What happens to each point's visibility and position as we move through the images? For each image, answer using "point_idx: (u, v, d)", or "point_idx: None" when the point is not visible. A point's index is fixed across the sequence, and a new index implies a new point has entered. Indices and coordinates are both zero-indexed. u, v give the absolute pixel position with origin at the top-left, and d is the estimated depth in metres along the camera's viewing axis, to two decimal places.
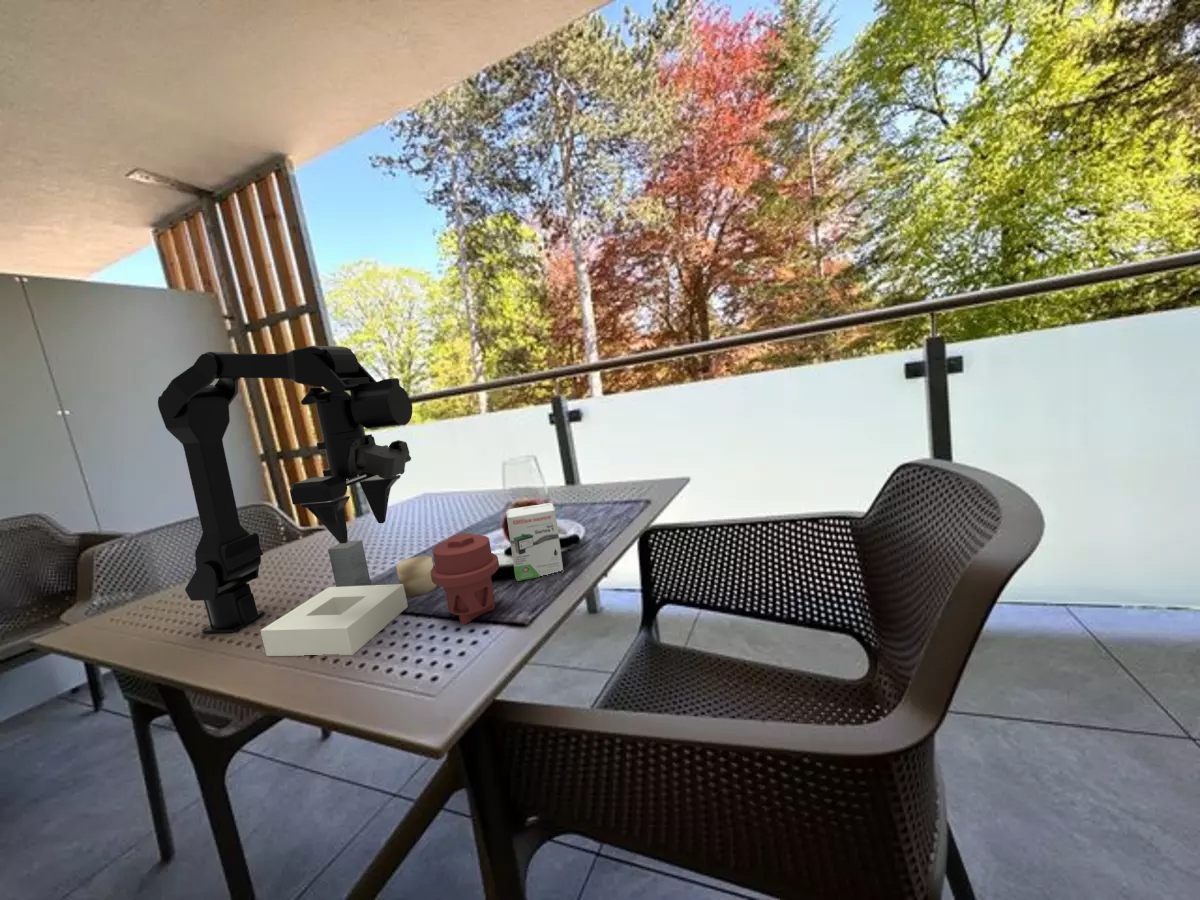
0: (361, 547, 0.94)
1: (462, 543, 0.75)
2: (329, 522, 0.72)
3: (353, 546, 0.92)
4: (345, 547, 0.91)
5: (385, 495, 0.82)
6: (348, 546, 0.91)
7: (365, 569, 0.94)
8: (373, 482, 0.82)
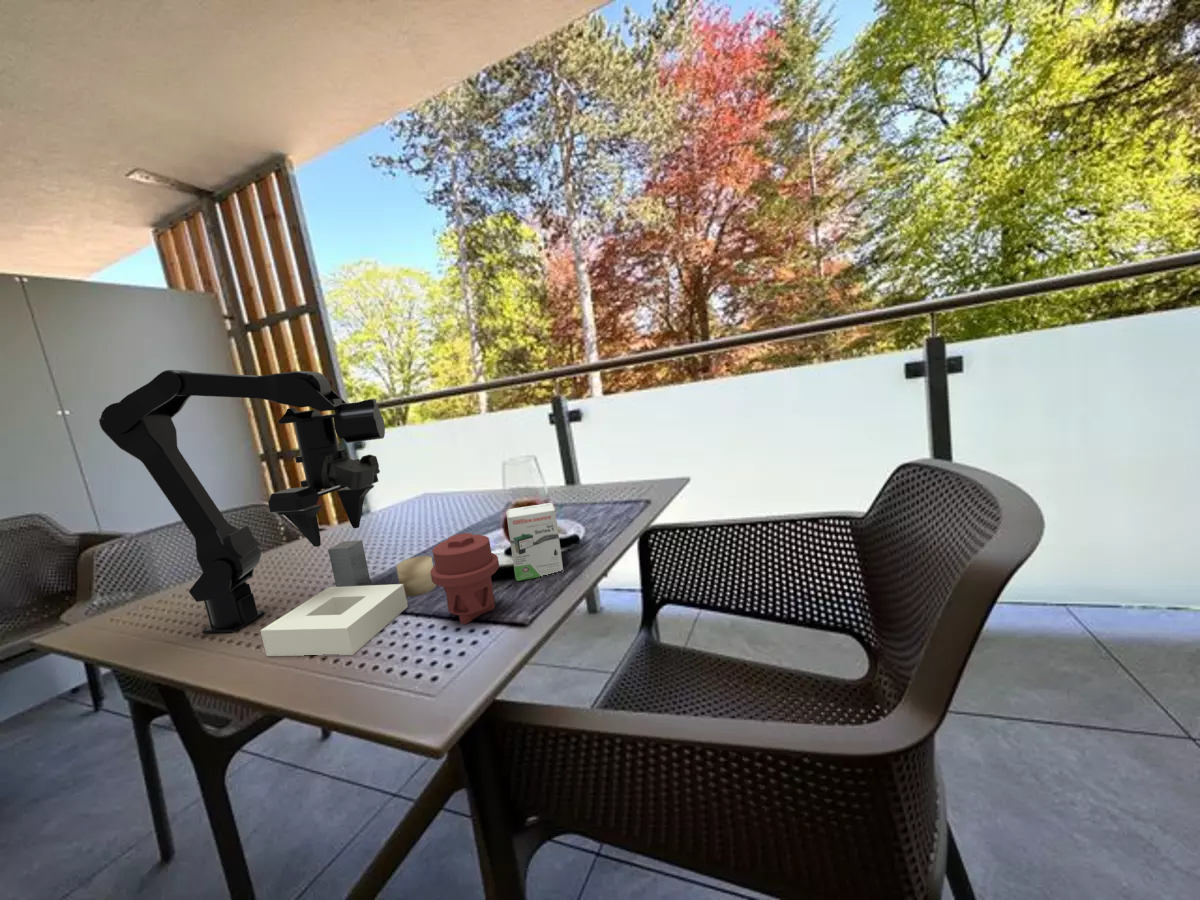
0: (361, 547, 0.94)
1: (462, 543, 0.75)
2: (304, 528, 0.81)
3: (353, 546, 0.92)
4: (345, 547, 0.91)
5: (359, 503, 0.91)
6: (348, 546, 0.91)
7: (365, 569, 0.94)
8: (349, 491, 0.91)
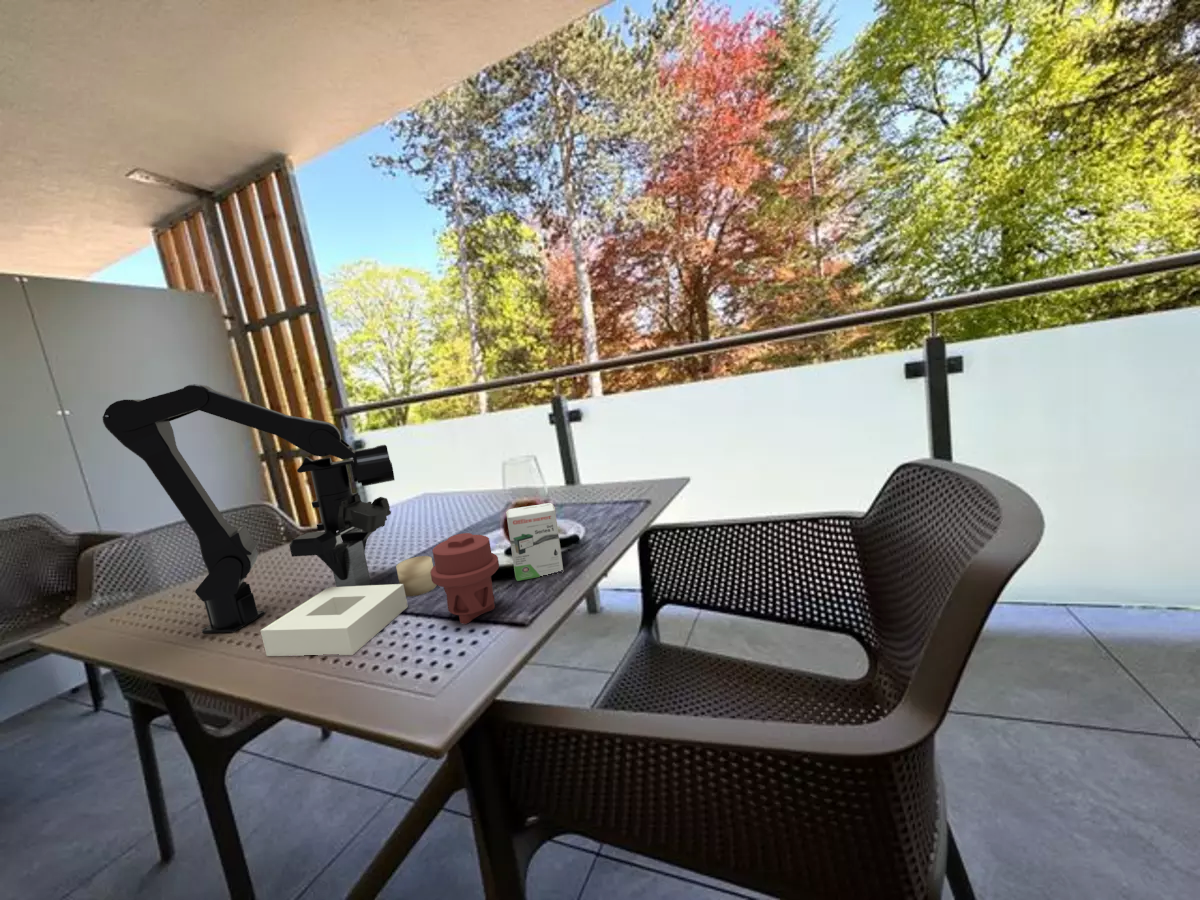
0: (361, 547, 0.94)
1: (462, 543, 0.75)
2: (332, 563, 0.90)
3: (353, 546, 0.92)
4: None
5: None
6: (348, 546, 0.91)
7: (365, 569, 0.94)
8: (351, 535, 0.95)
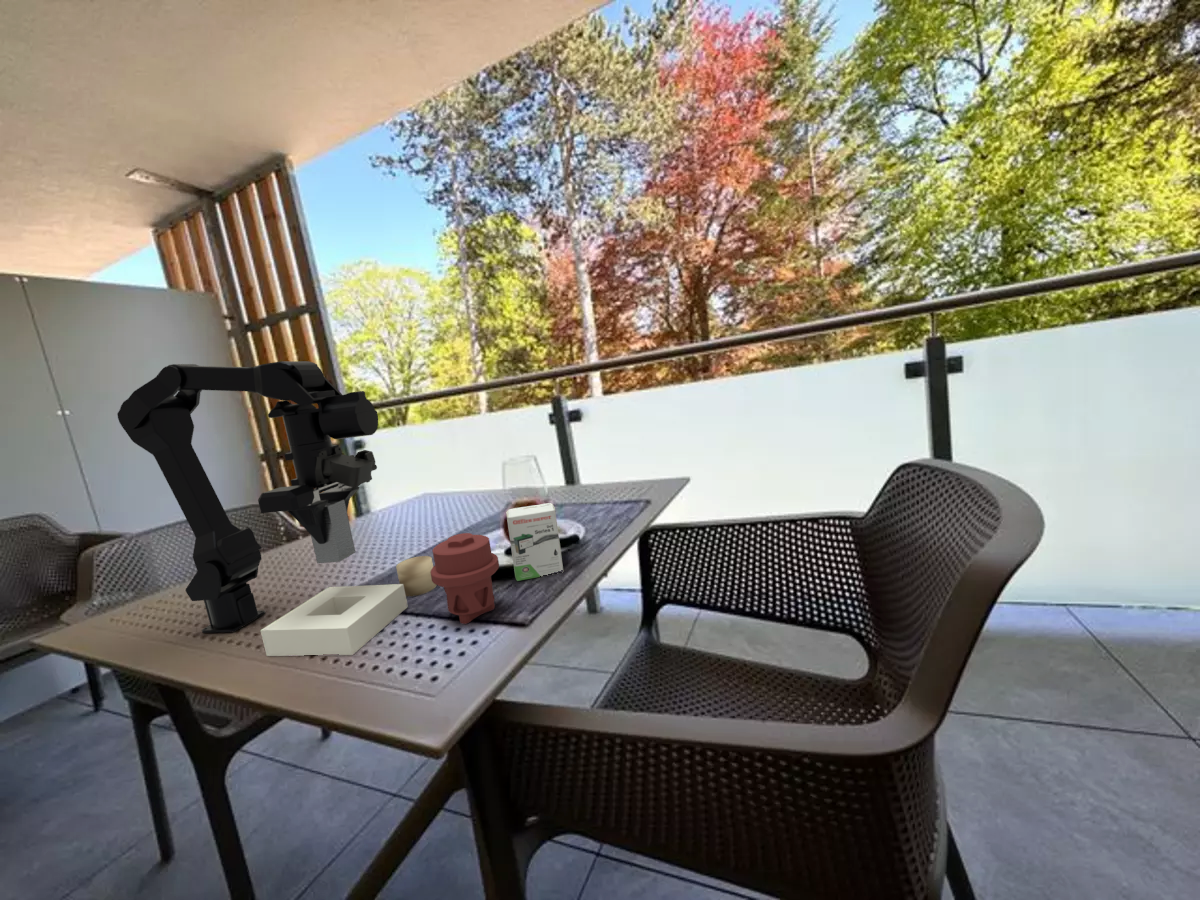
0: (343, 507, 0.82)
1: (462, 543, 0.75)
2: (309, 524, 0.78)
3: (334, 505, 0.80)
4: (325, 506, 0.79)
5: None
6: (328, 505, 0.79)
7: (348, 532, 0.83)
8: (331, 494, 0.83)
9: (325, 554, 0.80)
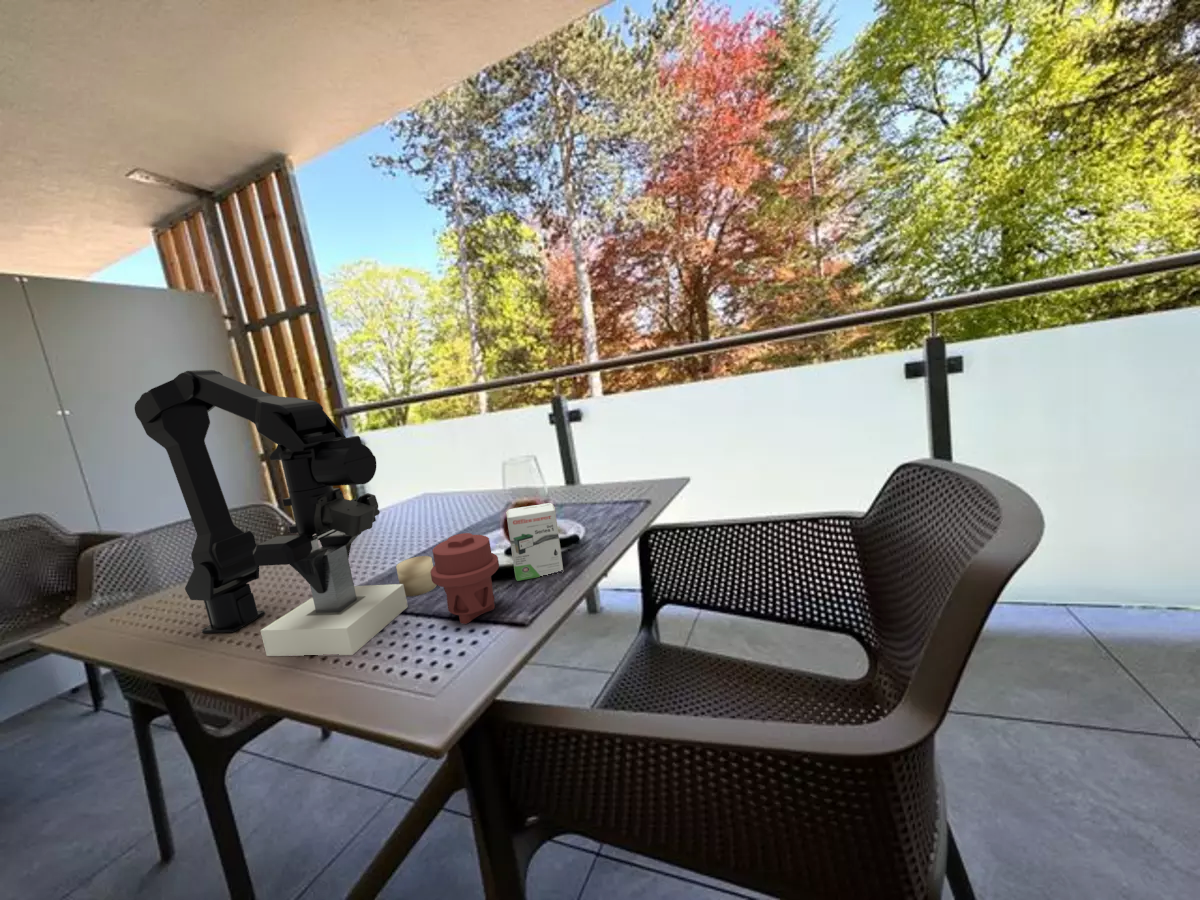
0: (344, 553, 0.78)
1: (462, 543, 0.75)
2: (307, 573, 0.74)
3: (334, 552, 0.76)
4: None
5: None
6: (328, 552, 0.75)
7: (349, 580, 0.78)
8: (332, 538, 0.79)
9: (324, 604, 0.76)
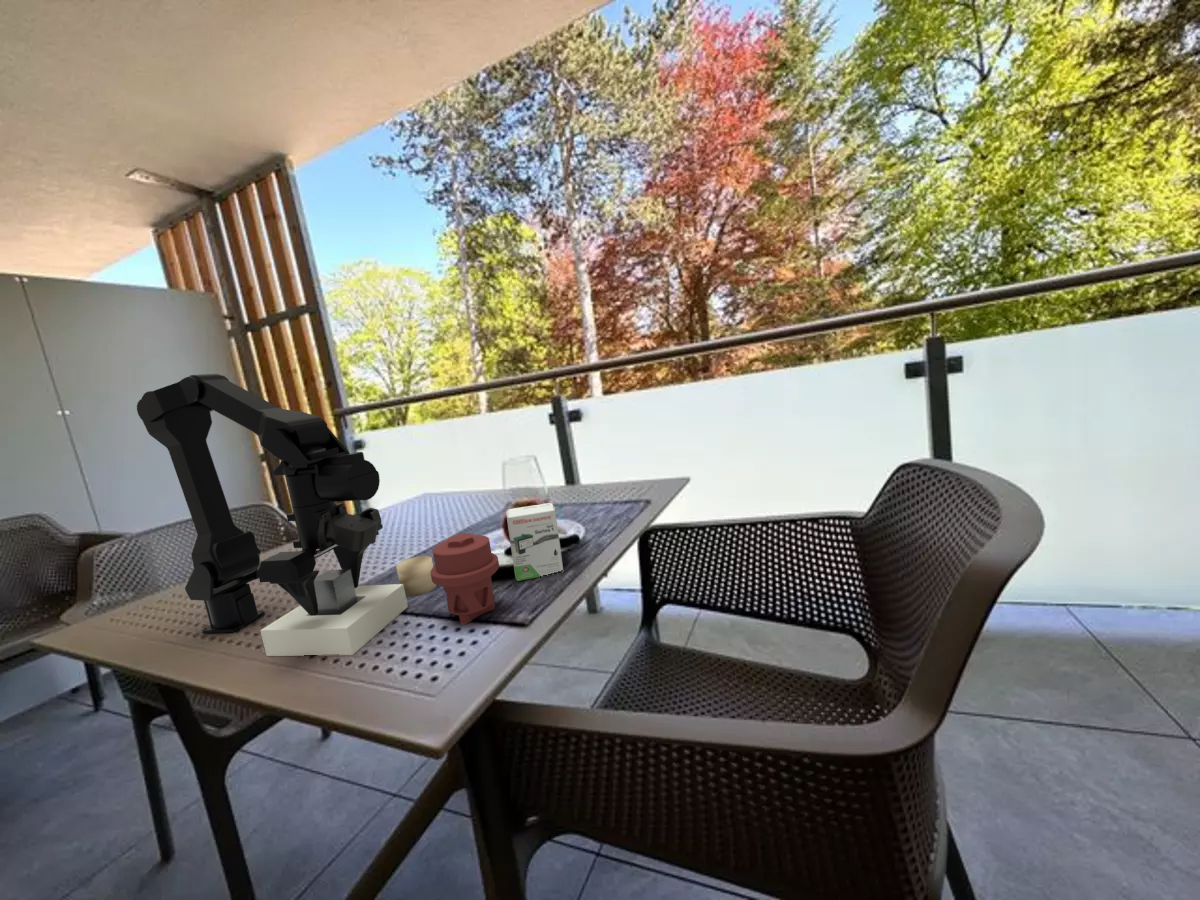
0: (349, 578, 0.78)
1: (462, 543, 0.75)
2: (299, 596, 0.72)
3: (339, 577, 0.76)
4: (330, 579, 0.75)
5: (358, 560, 0.82)
6: (333, 577, 0.76)
7: (354, 603, 0.79)
8: (346, 547, 0.82)
9: None
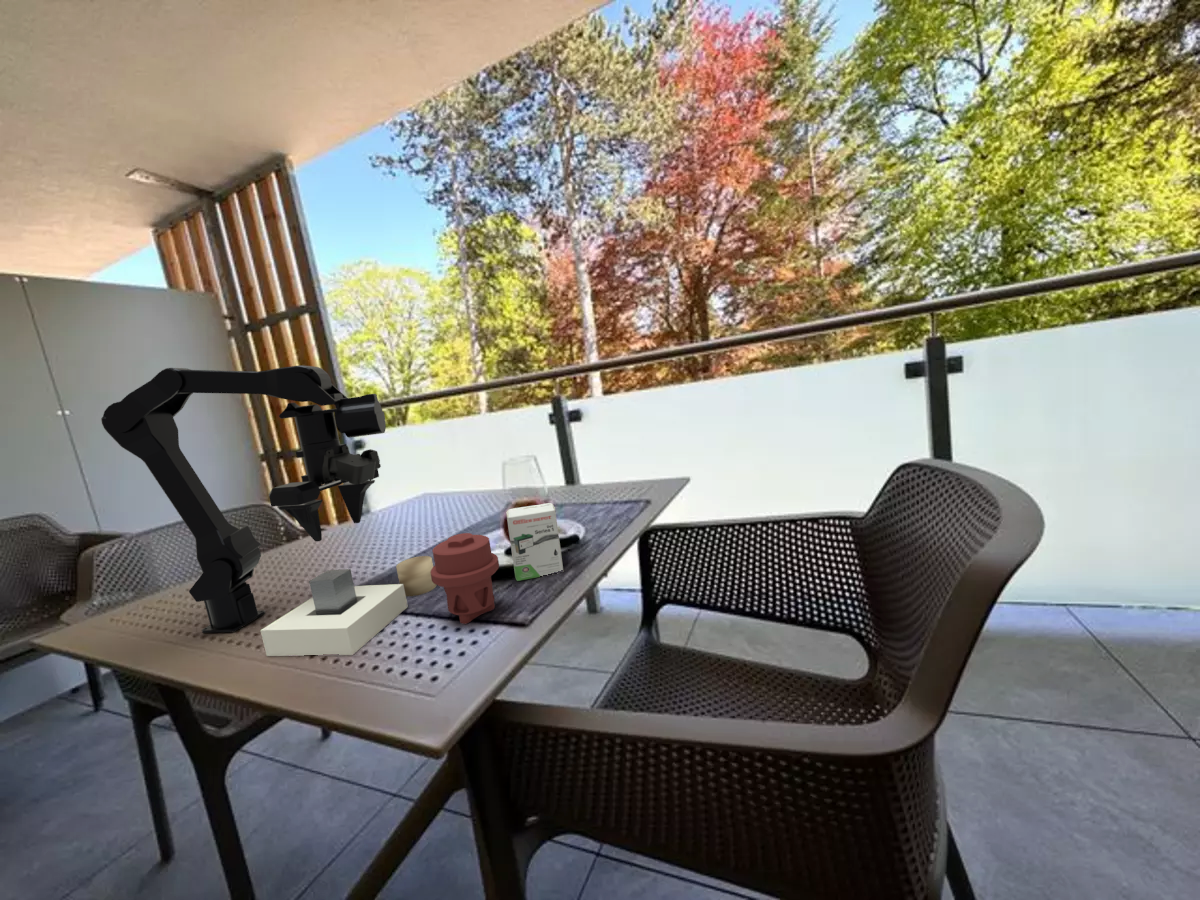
0: (349, 578, 0.78)
1: (462, 543, 0.75)
2: (305, 522, 0.81)
3: (339, 577, 0.76)
4: (330, 579, 0.75)
5: (360, 498, 0.91)
6: (333, 577, 0.76)
7: (355, 603, 0.79)
8: (349, 486, 0.91)
9: None
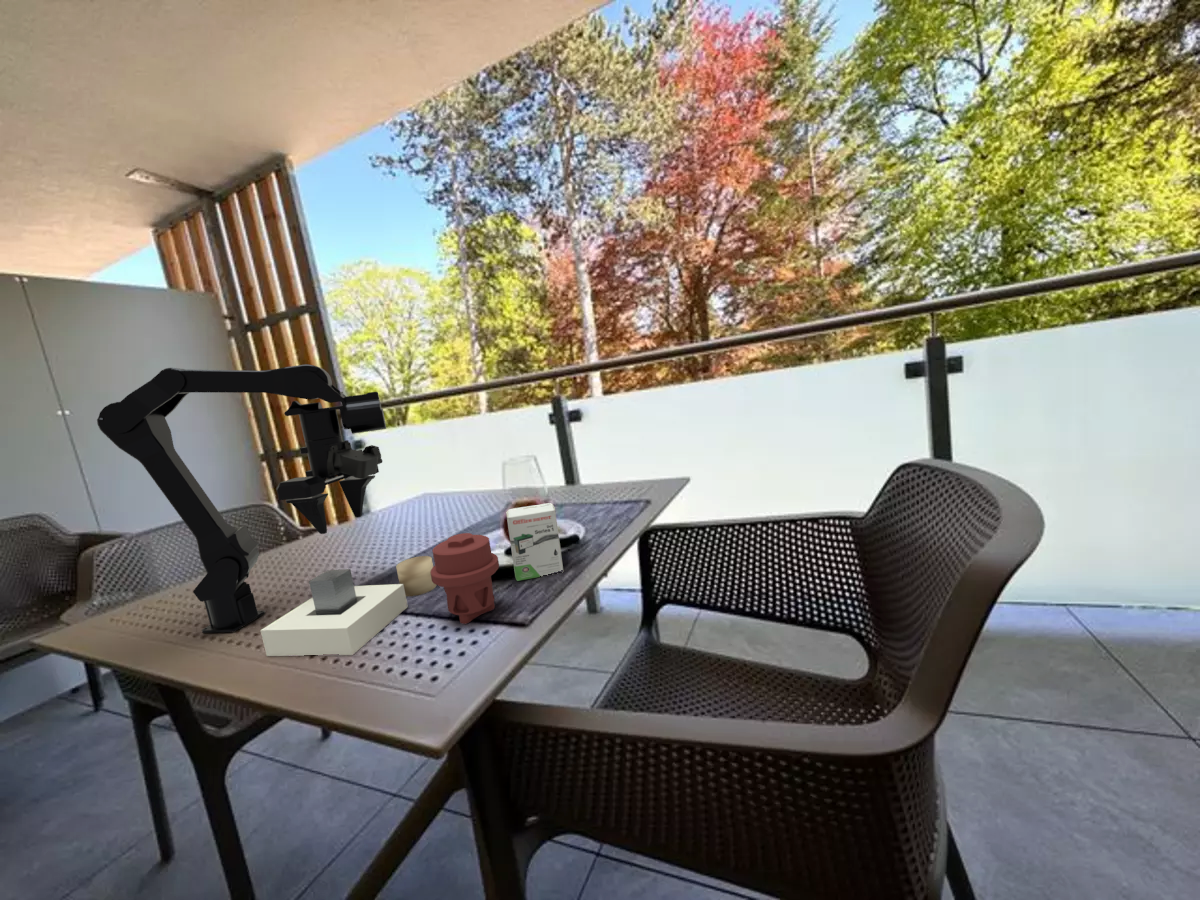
0: (349, 578, 0.78)
1: (462, 543, 0.75)
2: (310, 515, 0.85)
3: (339, 577, 0.76)
4: (330, 579, 0.75)
5: (361, 493, 0.94)
6: (333, 577, 0.76)
7: (354, 603, 0.79)
8: (351, 481, 0.95)
9: None
